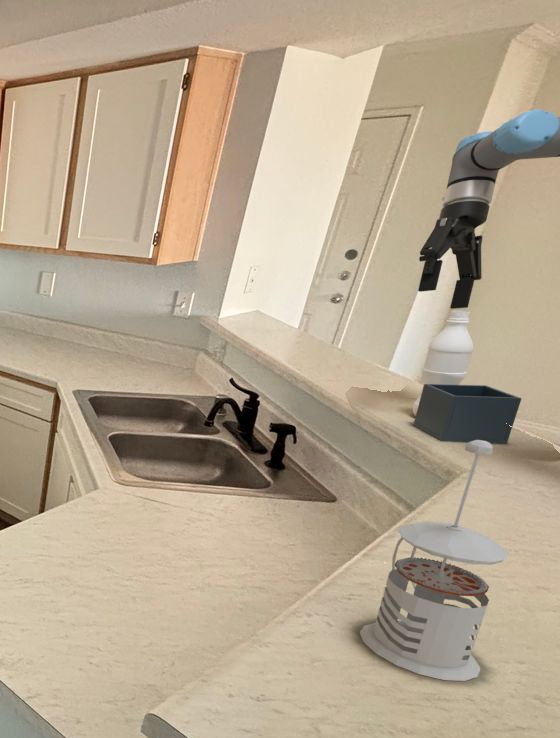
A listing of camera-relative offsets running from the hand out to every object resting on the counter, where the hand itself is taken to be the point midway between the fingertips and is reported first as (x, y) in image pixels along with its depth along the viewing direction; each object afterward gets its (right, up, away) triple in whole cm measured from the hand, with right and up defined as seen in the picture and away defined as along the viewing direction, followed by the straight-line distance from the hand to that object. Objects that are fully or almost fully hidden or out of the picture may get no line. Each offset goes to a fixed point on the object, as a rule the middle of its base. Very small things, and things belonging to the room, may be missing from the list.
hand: (443, 299), depth 130 cm
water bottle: (+5, -27, +7) cm, 28 cm away
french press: (-70, -54, -64) cm, 109 cm away
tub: (0, -30, -3) cm, 30 cm away
